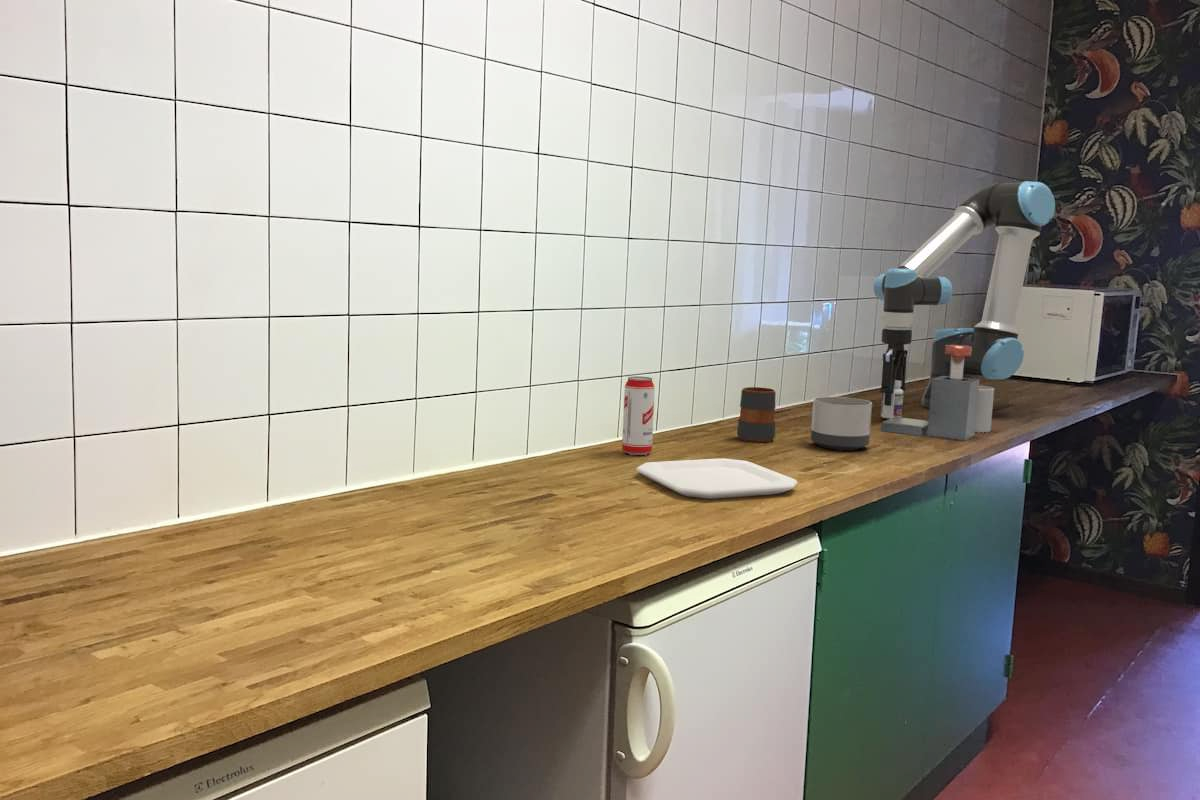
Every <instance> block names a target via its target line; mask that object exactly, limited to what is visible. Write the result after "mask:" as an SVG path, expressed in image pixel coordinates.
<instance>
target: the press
mask: <svg viewBox="0 0 1200 800" xmlns="http://www.w3.org/2000/svg"><path fill="white" fill-rule="evenodd" d="M949 378H950V376H939V377H936V378H933V379H932V386H931V398H930V408H929V410H928V411H929V412H928V420H924V419H916V418H915V419H914V418H908V417H901V418H900V417H894V418H891V419H890V418H887V419H886V420H884V421H882V422H881V425H880V426H881V427H880V431H881V432H889V433H896V434H903V435H909V436H910V435H911V436H919V437H922V436H923V437H924V435H926V436H928V437H932V438H933V437H934V438H940V439H941V438H942V439H948V438H949V439H950V440H956V439H957V441H964V442H965V441H967V440H969V439H971V438H973V437H974V436H975V434H976V432H975V423H976V412H977V401H978V390H979V386H980V378H973V379H971V378H963V379H962V381H959V380H949Z"/></svg>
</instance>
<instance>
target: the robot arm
mask: <svg viewBox="0 0 1200 800" xmlns="http://www.w3.org/2000/svg"><path fill="white" fill-rule="evenodd" d="M1055 211H1056V201H1055V197H1054V194H1053V193H1052V190H1051V189H1050V187H1048V185H1046V184H1045V183H1043V182H1040V181H1029V180H1026V181H1016V182H1015V181H1014V182H997V183H996V182H995V183H993V184H989V185H987V186H984V187H983V188H981V189H979V190H978V191H976V192H974V194H971V196H969V197H968V198H967V199H966V200H964V201H963V202H962V203H961V204H960V205H958V207H956V209H954V212H953V216H951V218H950V219H949V220H948V221H947V222H946V223H945V224H943V225H942V226H940V228H939V229H938V230H937V231H935V233H933V235H932V236H930V237H929V238H928V239H927V240H926V241H925V242H924V243H923V244H922V245H921V246H920V247H918V248H917V249H916V250H915V251H914V252H913V253H912V254H911V255H910V256H909V257H908V258H907V259H906V260H904V261H903V262H902V263H901V264H900V265H899V266H898V267H897V268H888V270H887V271H886V273H882V274H880V275H878V276H877V277H876V278H875V281H874V282H873V293H874V294H875V296H876V297H877V299H879V300H881V301H883V313H882V314H881V316H880V317H881V318H882V327H884V328H883V329H882V330H881V339H880V340H881V342H882V343H883V344H887V345H888V346H887V349H886V351H885V353H883V354H882V371H881V383H880V384H881V386H880V390H879V392H880V393H881V394H882V393H884V397H883V412H882V416H881V417H882V418H884V417H885V418H884V419H890V418H893V414H894V399H895V393H893V392H894V386H895V380H899V381H901V387H900V389H902V390H903V391H906V389H907V388H906V375H907V374H906V371H907V357H908V353H909V352H908V349H907V350H906V349H905V345H910V344H911V343H912V334H913V331H912V329H911V328H913V326H914V324H913V322H914V307H915V306H935V307H936V306H940V305H941V306H943V305H945V304H947V303H949V301H950V299H951V298H952V295H953V284H952V283H951V280H949V279H948V278H947V277H944V276H939V275H937V276H935V275H934V276H933V275H932V276H930V275H931V274H933V273H934V272H935V271H936V270H937V269H938V268H939V267H940V266H941V265H943V264H944V262H945V261H947V259H949V258H950V257H951V256H952V255H953V254H954V253H955V252H957V250H958V249H960V247H961V246H963V245H964V244H965V243H966V242H967V241H968V240H969V239H970V238H972V236H974V235H979V234H981V233H982V232H984V230H985V229H987V228H989V227H993V226H995V227H994V229H995V231H996V232H997V234H998V241H997V246H996V250H995V255H994V259H993V263H992V264H993V266H992V268H991V274H990V279H989V283H988V288H987V292H986V299H985V304H984V308H983V313H982V317H981V321H980V322H978V323H976V324H975V325H974V326H973V328H971V327H966V328H965V327H962V328H961V327H960V328H943V329H942V328H941V329H940V328H939V329H937V330H936V331H935V332H934V335H933V341H932V346H931V359H930V360H931V362H930V377H929V378H930V379H929V381H928V384H927V386H926V388H925V390H924V393H923V395H922V398H921V406H922V407H923V408H926V409H930V398H931V386H932V379H933V378H936V377H939V376H950V367H951V355H948V354H945V349H946V345H962V346H970V347H972V352H971V356H965V357H964V368H963V378H971V379H974V378H973V376H974V377H981V378H985V379H988V380H989V379H990V380H1007V379H1009V378H1010V377H1012V375H1014V374H1015V373H1016V372H1017V371H1018V370H1019V369H1020V367H1021V365H1022V363H1023V360H1024V356H1025V355H1024V353H1025V351H1024V348H1023V344H1022V343H1021V341H1019V340H1018V339H1019V338H1018V337H1019V332H1018V330H1017V329H1016V327H1015V323H1016V318H1017V314H1018V309H1019V305H1020V300H1021V295H1022V291H1023V285H1024V282H1025V281H1024V280H1025V276H1026V271H1027V267H1028V262H1029V258H1030V257H1029V256H1030V254H1031V253H1030V252H1031V248H1032V245H1033V241H1034V239H1035V238H1037V237H1038V236H1040V235H1041V231H1042V227H1043V226H1045V225H1047V224H1048V223H1050V221H1051V220H1052V219H1053V217H1054V215H1055Z"/></svg>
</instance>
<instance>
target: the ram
mask: <svg viewBox="0 0 1200 800" xmlns="http://www.w3.org/2000/svg"><path fill="white" fill-rule="evenodd" d="M971 352H972V347H970V346H962V345H946V349H945V354H948V355H951V367H950V378H949V380H959V381H962V379H963V368H964V357H965V356H971Z"/></svg>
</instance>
